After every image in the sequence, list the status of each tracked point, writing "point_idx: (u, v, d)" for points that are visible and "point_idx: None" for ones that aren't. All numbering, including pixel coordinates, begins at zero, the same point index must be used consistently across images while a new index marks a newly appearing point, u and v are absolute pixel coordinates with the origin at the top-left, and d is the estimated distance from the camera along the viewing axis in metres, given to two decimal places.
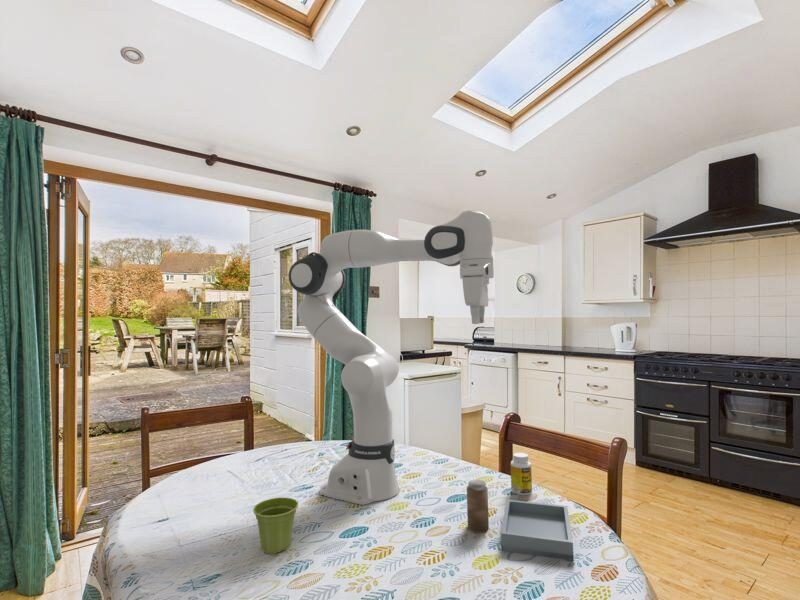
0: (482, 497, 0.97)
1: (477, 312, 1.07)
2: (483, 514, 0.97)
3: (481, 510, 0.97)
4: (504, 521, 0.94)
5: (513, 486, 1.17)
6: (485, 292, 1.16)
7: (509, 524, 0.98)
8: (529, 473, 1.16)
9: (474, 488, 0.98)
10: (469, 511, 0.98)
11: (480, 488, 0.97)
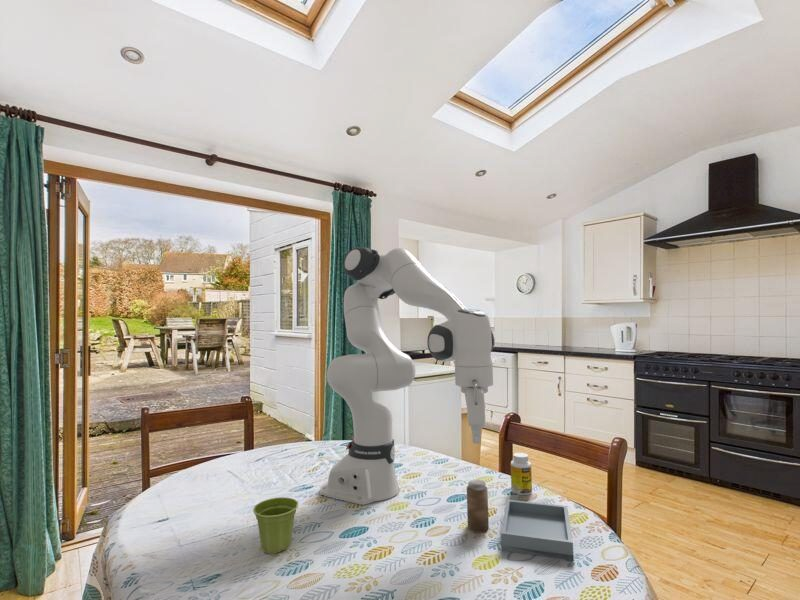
0: (482, 497, 0.97)
1: None
2: (483, 514, 0.97)
3: (481, 510, 0.97)
4: (504, 521, 0.94)
5: (513, 486, 1.17)
6: None
7: (509, 524, 0.98)
8: (529, 473, 1.16)
9: (474, 488, 0.98)
10: (469, 511, 0.98)
11: (480, 488, 0.97)
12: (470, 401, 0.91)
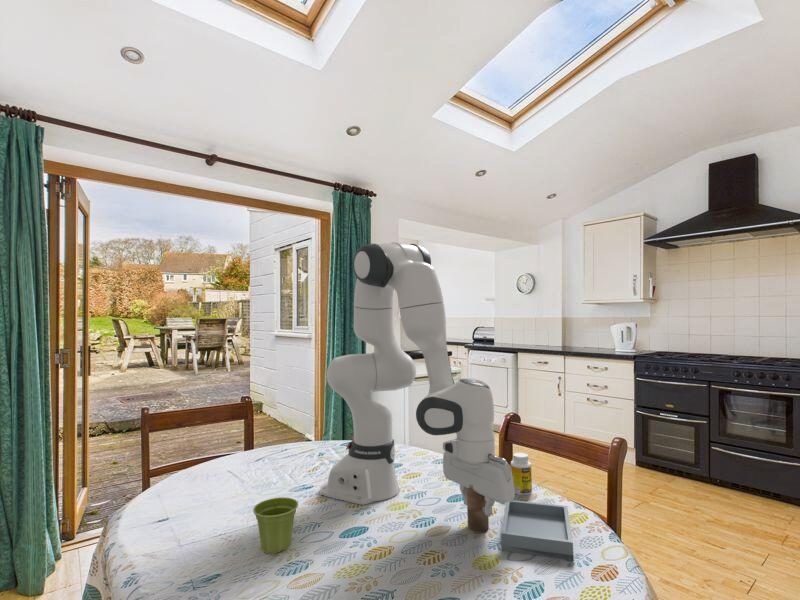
0: (482, 497, 0.97)
1: None
2: (483, 514, 0.97)
3: (481, 510, 0.97)
4: (504, 521, 0.94)
5: None
6: (481, 478, 0.96)
7: (509, 524, 0.98)
8: (529, 473, 1.16)
9: None
10: (469, 511, 0.98)
11: None
12: (503, 478, 0.91)
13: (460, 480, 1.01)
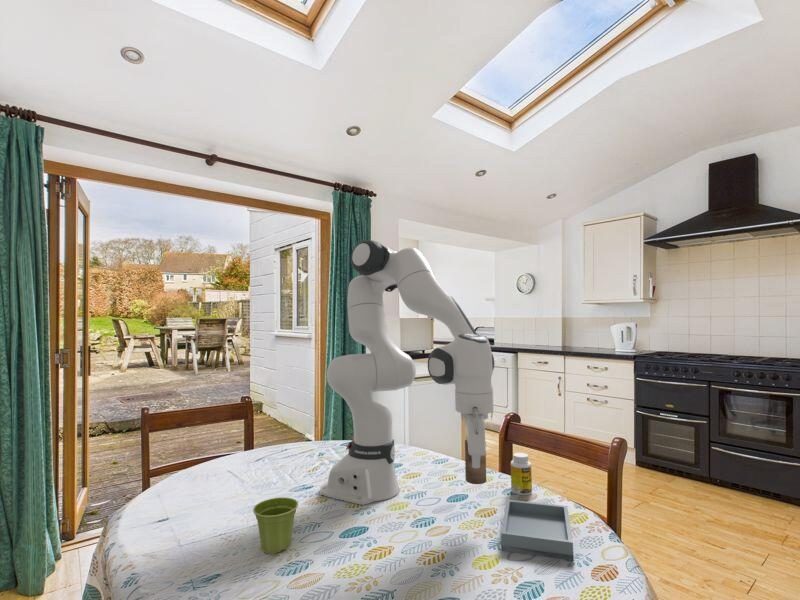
0: None
1: None
2: None
3: (471, 462, 0.98)
4: (504, 521, 0.94)
5: (513, 486, 1.17)
6: (467, 430, 0.97)
7: (509, 524, 0.98)
8: (529, 473, 1.16)
9: None
10: (465, 461, 1.00)
11: None
12: (470, 430, 0.91)
13: None
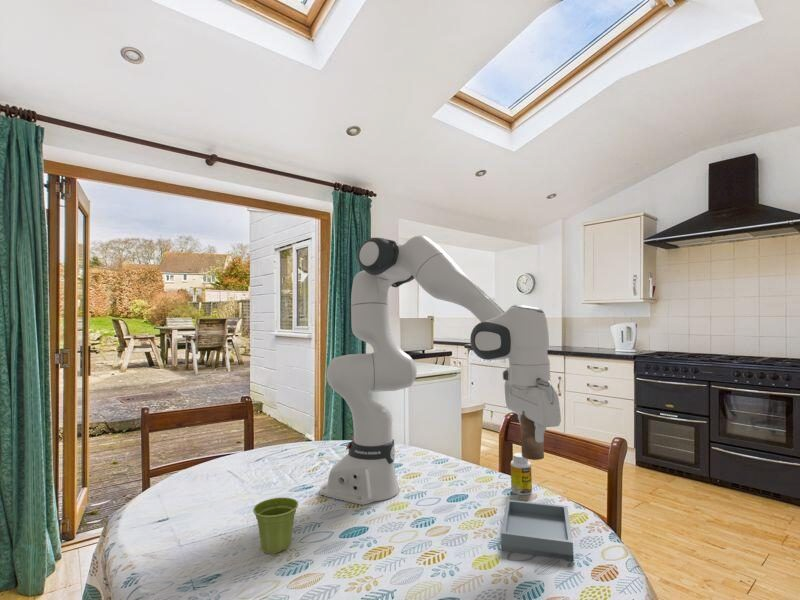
0: (533, 424, 0.94)
1: None
2: (534, 441, 0.94)
3: (532, 437, 0.94)
4: (504, 521, 0.94)
5: (513, 486, 1.17)
6: (530, 403, 0.93)
7: (509, 524, 0.98)
8: (529, 473, 1.16)
9: None
10: (521, 437, 0.96)
11: None
12: (546, 400, 0.87)
13: (516, 408, 1.00)
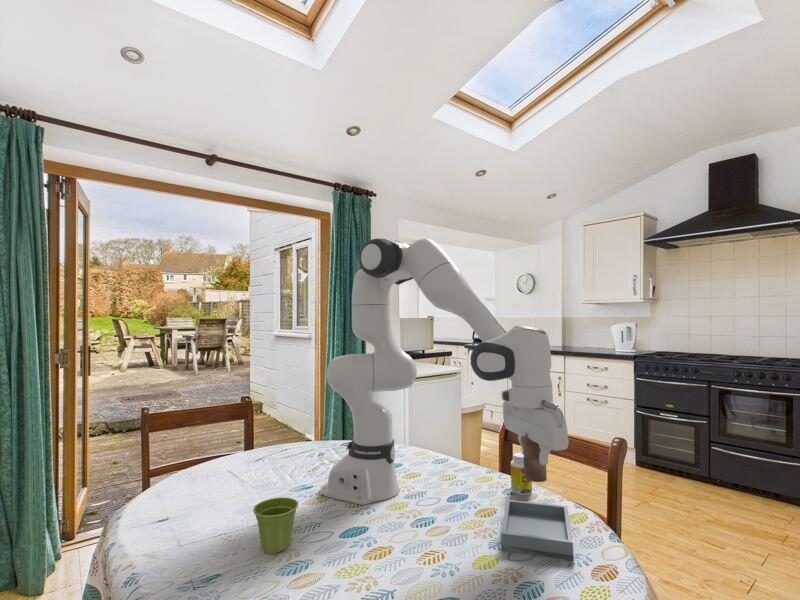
0: (537, 446, 0.93)
1: None
2: (538, 463, 0.93)
3: (536, 459, 0.93)
4: (504, 521, 0.94)
5: (513, 486, 1.17)
6: (534, 425, 0.92)
7: (509, 524, 0.98)
8: None
9: None
10: (524, 459, 0.95)
11: None
12: (554, 423, 0.87)
13: (517, 429, 0.99)
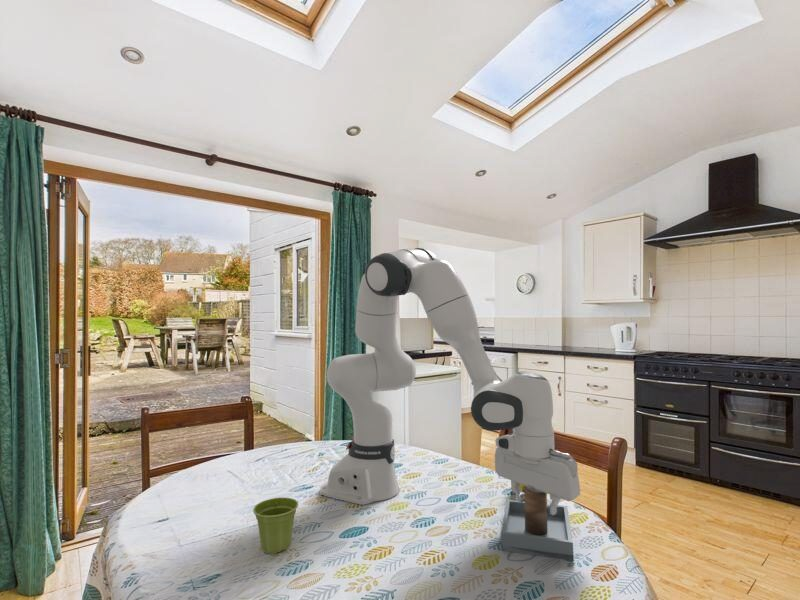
0: (542, 499, 0.93)
1: None
2: (543, 517, 0.93)
3: (541, 512, 0.93)
4: (504, 521, 0.94)
5: None
6: (542, 475, 0.92)
7: (509, 524, 0.98)
8: None
9: (534, 489, 0.94)
10: (528, 513, 0.94)
11: None
12: (570, 474, 0.87)
13: (516, 477, 0.97)
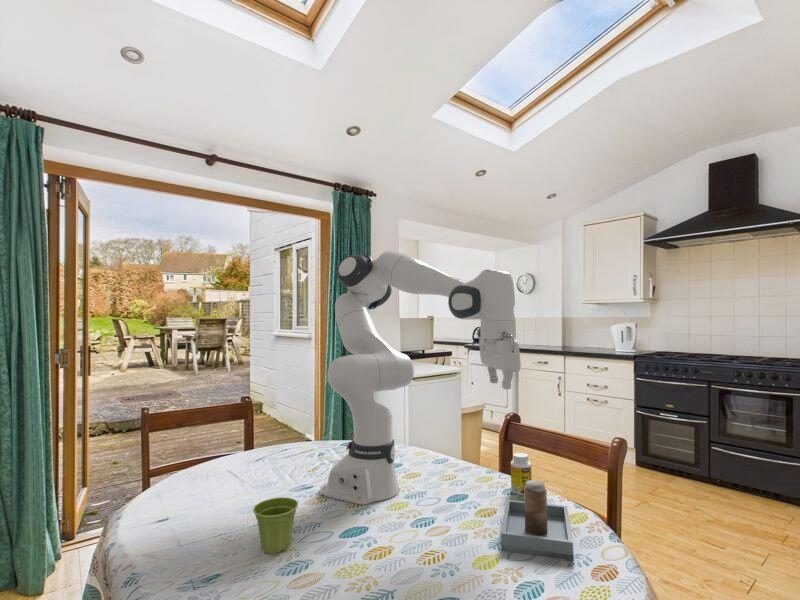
0: (542, 499, 0.93)
1: None
2: (543, 516, 0.93)
3: (541, 512, 0.93)
4: (504, 521, 0.94)
5: (513, 486, 1.17)
6: (496, 354, 1.06)
7: (509, 524, 0.98)
8: (529, 473, 1.16)
9: (534, 489, 0.94)
10: (528, 513, 0.94)
11: (540, 489, 0.94)
12: (507, 349, 1.00)
13: (487, 361, 1.13)
